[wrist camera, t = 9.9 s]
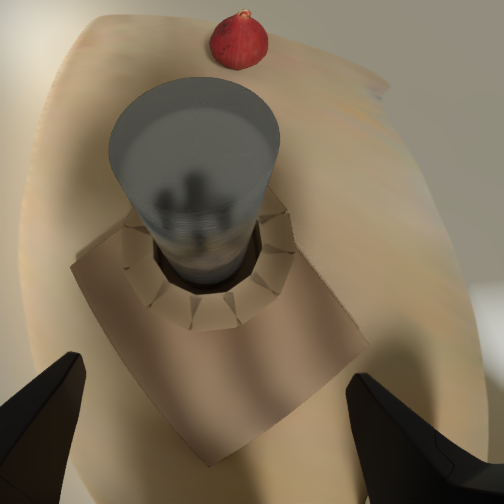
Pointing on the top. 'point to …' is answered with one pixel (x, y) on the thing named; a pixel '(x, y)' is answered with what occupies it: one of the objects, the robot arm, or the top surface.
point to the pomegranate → (239, 41)
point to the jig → (220, 331)
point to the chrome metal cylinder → (197, 171)
